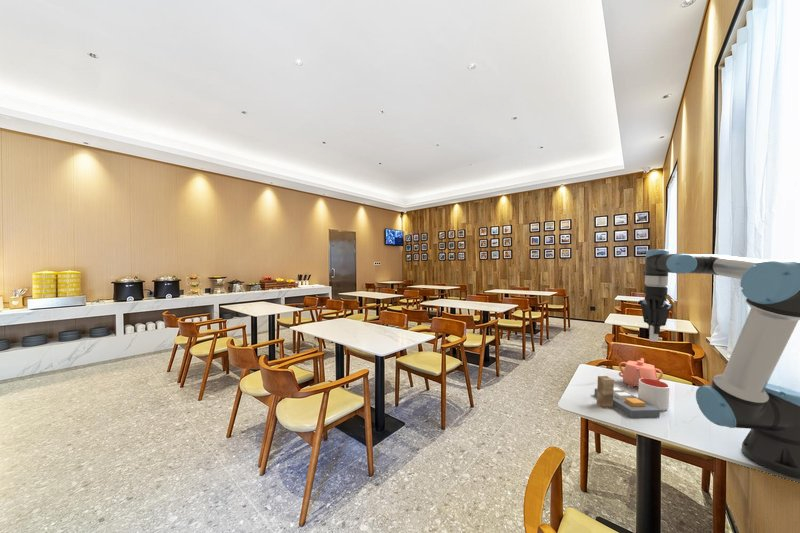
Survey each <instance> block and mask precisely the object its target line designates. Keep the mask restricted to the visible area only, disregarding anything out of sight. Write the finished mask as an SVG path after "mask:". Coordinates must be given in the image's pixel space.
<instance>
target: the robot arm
mask: <svg viewBox="0 0 800 533" xmlns="http://www.w3.org/2000/svg"><path fill="white" fill-rule="evenodd" d="M644 260H645V262H644V269H645V270H644V285H645V286H644V288H643V289H644V291H643V292H644V295H645V297H644V299H642V300H641V299H640V300H639V304H640V308H641V312H642V317H643V318H642V319H643V322H644V323H646V324H647V325H648V326H647V327H648V331H647V332H648V334H649V336H648V340H649V341H650V342H659V334H660V333H661V327H664V326H666V325H667V324H666V323H667V321H668V319H669V318H668V317H669V315H670V311H671V309H672V308H673V303H669V302H668V300H667V298H666V297H667V296H668V287H667V286H668V283H669V282H668V281H669V273H672V274H682V275H684V274H707V275H715V276H720V277H727V278H733V279H737V280H740V283H739V285H740V288H742V289H741V293H742V295H743V296H744V297H745V298H746V299H745V303H746V304H747V305H748V306H749V308H750V310H749V312H748V315H747V317H746V318H745V321H744V324H743V327H742V328H741V331H740V334H739V336H738V338H737V340H736V343H735V345H734V347H733V350H732V352H731V354H730V356H729V359H728V360H727V361H728V362H727V363H726V366H725V369H724V371H723V373H722V374H721V373H720V374H716V375H714V376H713V379H712V381H711V383H710V385H708V384H704V385H700V386H698V387H697V389H696V391H695V401H696V404H697V406H698V408H699V410H700V411H701V413H702V415H703V416H704V417H705V418H706V419H707V420H709V422H711V423H712V424H714V425H716V426H719V427H726V428H730V429H734V428H736V429H750V430H749V432H748V434H747V435H746V436H745V438H744V439H743V441H742V442H741V452H742V454H743V455H745V456H746V457H747V458H748V459H750V460H751V461H753V462H755V463H756V464H758V465H760V466H762V467H764V468H767V469H769V470H772V471H775V472H777V473H780V474H783V475H785V474H786V476H790V477H793V478H798V479H800V392H799V391H796V390H793V389H790V388H788V387H784V386H783V387H782V386H780V385H776V384H771V383H768V382H769V381H770V379H771V377H772V374H773V373H774V371H775V369H776V367H777V364H778V363H779V360H780V359H781V356H782V355H783V353H784V351H785V349H786V346H787V344H788V342H789V341H790V339H791V336H792V334H793V332H794V330H795V329H796V327H797V324H798V323H799V321H800V259H789V258H787V259H786V258H783V259H782V258H781V259H761V258H749V257H742V256H741V257H740V256H731V255H729V254H728V255H727V254H724V253H723V254H722V253H719V254H718V253H716V254H715V253H714V254H708V253H706V254H699V253H698V254H697V253H670V251H669V250H668V249H647V250H646V253H645V258H644Z"/></svg>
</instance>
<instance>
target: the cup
mask: <svg viewBox="0 0 800 533" xmlns="http://www.w3.org/2000/svg"><path fill="white" fill-rule="evenodd" d="M670 390H671V389H670V385H669V384H668V383H666V382H664V381H662V380H659V381H658V380H654V379H647V378H642V379H639V387H638V392H637V394H638V395H637V398H639V399H640V400H642V401H644V402H646V403H648V404H650V405H652V406H654V407H655V408H657V409H659V410H660V412H661V411H667V410H668V409H669V407H670V405H669V404H670Z"/></svg>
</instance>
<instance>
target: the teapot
mask: <svg viewBox="0 0 800 533" xmlns="http://www.w3.org/2000/svg"><path fill="white" fill-rule="evenodd" d="M622 365H625V366H624V367H623V368H624V369H623V368H622ZM618 368H619V370H620V372H619V373H618V375H619V377H621V378H622V380H623V383H624V384H627V387H628V386H629V387H628V388H631V387H634V388H635V387H637V388H639V379H642V378H647V379H654V380H658V381H661V379H662V378H663V376H664V374H663V373H664V372H663V371H662V370H661V369H659V368H655V365H654V364H650V363H646V362H645V358H643V357H641V358H640V360H636V361H635V360H634V361H633V360H628V361H627V362H626V361H621V362H619V364H618ZM657 372H659V376H657V375H658V374H657Z"/></svg>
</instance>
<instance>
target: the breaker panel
mask: <svg viewBox="0 0 800 533" xmlns="http://www.w3.org/2000/svg"><path fill="white" fill-rule="evenodd" d="M594 396H595V397H597V388H594ZM625 398H637V399H639V398H638V396H635V395H633V394H631V393H629V392H627V391H625V390H623V389H621V388H619V387H617V386H616V387H615V386H614V391H613V409H615V410H617V411H619V412H621V413H622V414H624V415H625V416H627V417H629V418H630V419H644V418H645V419H647V418H649V419H650V418H651V419H652V418H653V419H655V418H660V416H661V415H660V412H661V411H660V410H659V409H657V408H655V407H654V406H652V405H650V404H648V403H646V402H645V407H632V406H630V405H629V404H627V403H625ZM639 400H640V399H639ZM641 401H642V400H641ZM643 402H644V401H643Z"/></svg>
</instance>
